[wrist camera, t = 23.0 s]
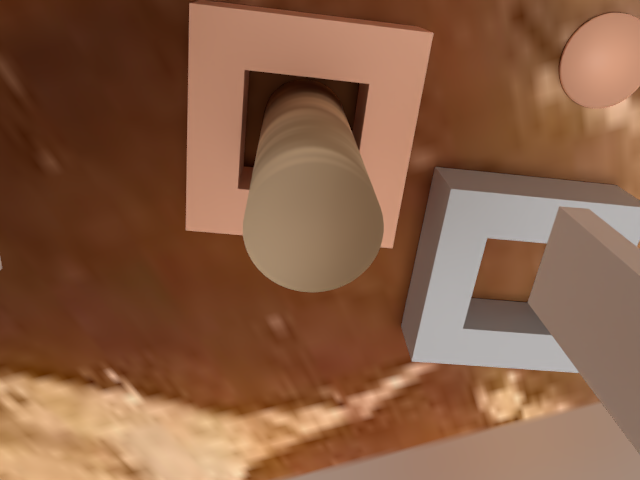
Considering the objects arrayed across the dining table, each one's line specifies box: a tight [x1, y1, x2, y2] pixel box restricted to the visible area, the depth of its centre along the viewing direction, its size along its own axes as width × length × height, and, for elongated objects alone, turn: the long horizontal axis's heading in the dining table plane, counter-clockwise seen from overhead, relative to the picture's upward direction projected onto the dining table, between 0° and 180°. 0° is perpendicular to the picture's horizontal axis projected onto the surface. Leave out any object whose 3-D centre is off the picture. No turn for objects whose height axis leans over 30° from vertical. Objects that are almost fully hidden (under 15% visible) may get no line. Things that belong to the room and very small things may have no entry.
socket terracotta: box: [186, 0, 433, 248], centre depth 24 cm, size 9×9×3 cm
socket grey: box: [401, 167, 640, 373], centre depth 27 cm, size 9×9×3 cm
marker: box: [559, 13, 640, 108], centre depth 24 cm, size 4×4×1 cm
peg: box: [243, 79, 384, 292], centre depth 20 cm, size 4×4×12 cm
